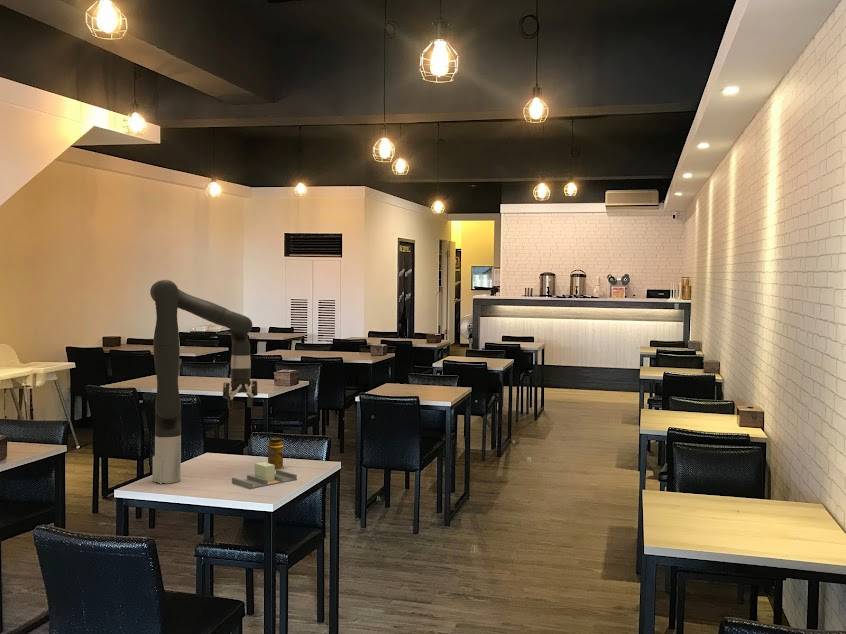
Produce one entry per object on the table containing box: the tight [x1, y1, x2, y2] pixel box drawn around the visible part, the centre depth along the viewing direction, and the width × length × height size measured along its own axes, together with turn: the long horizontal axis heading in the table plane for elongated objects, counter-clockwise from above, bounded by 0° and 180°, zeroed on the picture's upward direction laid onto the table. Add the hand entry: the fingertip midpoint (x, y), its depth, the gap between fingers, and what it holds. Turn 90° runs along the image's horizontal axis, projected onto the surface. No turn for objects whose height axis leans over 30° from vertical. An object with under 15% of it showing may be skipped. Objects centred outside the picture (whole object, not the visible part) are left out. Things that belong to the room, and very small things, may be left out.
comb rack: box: [231, 469, 297, 490], centre depth 290 cm, size 21×12×2 cm, turn 136°
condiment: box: [267, 437, 284, 471], centre depth 313 cm, size 7×8×12 cm
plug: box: [254, 461, 276, 482], centre depth 290 cm, size 4×7×6 cm, turn 47°
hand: (240, 408), depth 301 cm, fingers open, 8 cm apart
